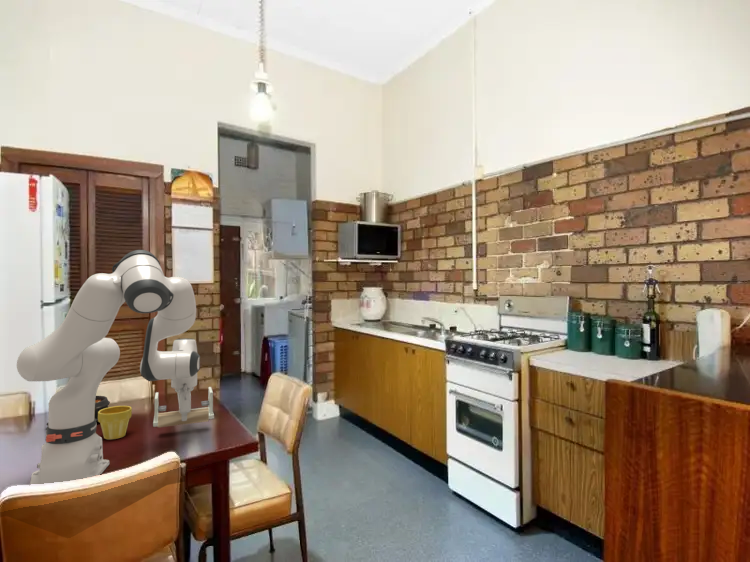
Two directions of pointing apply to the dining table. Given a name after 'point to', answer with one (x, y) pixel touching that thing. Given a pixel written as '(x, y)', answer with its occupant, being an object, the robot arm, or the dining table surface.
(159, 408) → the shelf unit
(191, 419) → the pine batten
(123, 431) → the plant pot
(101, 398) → the casserole
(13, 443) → the dining table surface
